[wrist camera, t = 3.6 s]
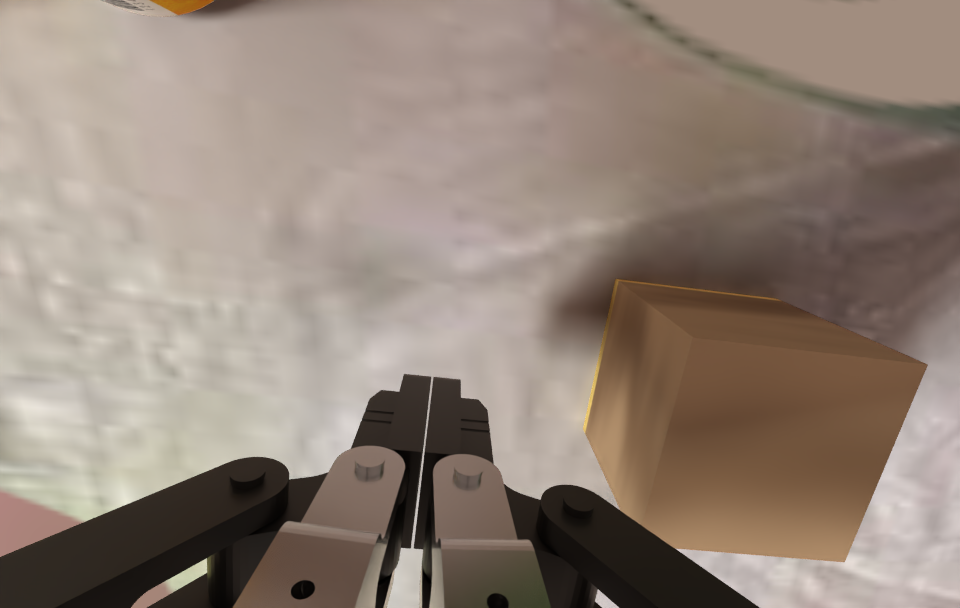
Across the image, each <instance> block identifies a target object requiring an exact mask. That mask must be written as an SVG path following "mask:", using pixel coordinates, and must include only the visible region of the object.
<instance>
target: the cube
mask: <svg viewBox="0 0 960 608" xmlns="http://www.w3.org/2000/svg"><path fill="white" fill-rule="evenodd" d="M926 368H927V364H925V363H923V362H921V361H918V360H916V359H914V358H911V357H909V356H907V355H904V354H902V353H900V352H898V351H895V350H893V349H891V348H888V347H886V346H884V345H882V344H879V343H877V342H875V341H872V340H870V339H868V338H865V337H863V336H861V335H859V334H856V333H854V332H852V331H849V330H847V329H845V328H843V327H840V326H838V325H836V324H833V323H831V322H829V321H826V320H824V319H822V318H820V317H817V316H815V315H813V314H810V313H808V312H806V311H803V310H801V309H799V308H797V307H794V306H792V305H790V304H787V303H785V302H783V301H781V300H778V299H775V298H767V297H759V296H751V295H742V294H734V293H726V292H718V291H710V290H702V289H694V288H686V287H678V286H669V285H661V284H653V283H645V282H637V281H629V280H621V279H616V280H615V284H614V289H613V294H612V298H611V303H610V307H609V312H608V317H607V321H606V326H605V330H604V335H603V340H602V344H601V349H600V354H599V358H598V363H597V367H596V372H595V377H594V381H593V386H592V390H591V395H590V400H589V404H588V409H587V413H586V418H585V423H584V427H583V430H584V432H585V434H586V436H587V438H588V440H589V443H590V445H591V447H592V449H593V451H594V454H595V456H596V458H597V460H598V462H599V464H600V467H601V469H602V471H603V473H604V475H605V478H606V480H607V482H608V484H609V486H610V488H611V491H612V493H613V495H614V497H615V499H616V501H617V504H618V506H619V508H620V510H621V511H622V512H623V513H624V514H626V515H627V516H629V517H630V518H632V519H633V520H635V521H636V522H637V523H639V524H640V525H642V526H643V527H645V528H646V529H647V530H649V531H650V532H652V533H653V534H655V535H656V536H657V537H659V538H660V539H662V540H663V541H665V542H666V543H668V544H669V545H670V546H672V547H673V548H677V549H689V550H701V551H714V552H726V553H738V554H751V555H763V556H775V557H788V558H800V559H812V560H824V561H837V562H845V560H846V557H847V555H848V553H849V550H850V548H851V546H852V543H853V541H854V538H855V536H856V534H857V531H858V529H859V527H860V524H861V522H862V520H863V517H864V515H865V512H866V510H867V508H868V505H869V503H870V501H871V498H872V496H873V493H874V491H875V489H876V486H877V484H878V482H879V479H880V477H881V474H882V472H883V470H884V467H885V465H886V463H887V460H888V458H889V455H890V453H891V451H892V448H893V446H894V444H895V441H896V439H897V437H898V434H899V432H900V429H901V427H902V425H903V422H904V420H905V418H906V415H907V413H908V410H909V408H910V406H911V403H912V401H913V399H914V396H915V394H916V391H917V389H918V387H919V384H920V382H921V380H922V377H923V375H924V372H925V370H926Z"/></svg>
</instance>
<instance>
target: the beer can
mask: <svg viewBox="0 0 960 608" xmlns="http://www.w3.org/2000/svg"><path fill="white" fill-rule="evenodd" d="M102 1H104V2H106V3H108V4H111V5H113V6H115V7H118V8H120V9H123V10H125V11H129V12H132V13H136V14H140V15H146V16H154V17H169V16H178V15H183V14H187V13H191V12H193V11H196V10H198V9H201V8H203V7H205V6H207V5H208V4H210V3H212V2H213V1H215V0H102Z"/></svg>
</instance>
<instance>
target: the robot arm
mask: <svg viewBox="0 0 960 608" xmlns="http://www.w3.org/2000/svg"><path fill="white" fill-rule="evenodd" d="M430 383H431V377H429V376H419V375H409V374H404V376H403V380H402V384H401V388H400V391H399V392H395V391H385V390H381V391H380V392H378V393H377V394H376V395H374V396H373V397H372V398H370V400H369V402H368V405H367V408H366V411H365V413H364V415H363V418H362V421H361V423H360V426H359V429H358V431H357V434H356V437H355V439H354V442H353V445H352V447H351V449H349V450H347V451H345V452H344V453H342V454H341V455H339V456H338V457H337V459H336V460H335V461H334V463H333V465H332V467H331V469H330V471H329V472H328V473H325V474H322V475H318V476H313V477H307V478H299V479H291V480H289V472H288V469H287V468H286V466H285V465H284V464H282V463H281V462H279V461H277V460H274V459H270V458H264V457H249V458H242V459H238V460H234V461H231V462H229V463H226V464H224V465H221V466H219V467H216V468H214V469H211V470H209V471H207V472H204V473H202V474H199V475H197V476H195V477H192V478H190V479H187V480H185V481H183V482H180V483H178V484H175V485H173V486H170V487H168V488H166V489H163V490H161V491H158V492H156V493H154V494H151V495H149V496H146V497H144V498H142V499H139V500H137V501H134V502H132V503H129V504H127V505H125V506H122V507H120V508H117V509H115V510H113V511H110V512H108V513H105V514H103V515H101V516H98V517H96V518H93V519H91V520H88V521H86V522H84V523H81V524H79V525H76V526H74V527H72V528H69V529H67V530H64V531H62V532H60V533H57V534H55V535H52V536H50V537H48V538H45V539H43V540H40V541H38V542H35V543H33V544H31V545H28V546H26V547H24V548H21V549H19V550H16V551H14V552H12V553H9V554H6V555H4V556H2V557H0V608H131V607H132V605H133V604H134V603H135V602H136V601H137V599H139V598H140V597H141V596H142V595H143V594H144V593H146V592H147V591H148V590H150V589H152V588H153V587H155V586H157V585H159V584H161V583H162V582H164V581H166V580H168V579H170V578H172V577H173V576H175V575H177V574H179V573H181V572H182V571H184V570H186V569H188V568H190V567H191V566H193V565H195V564H197V563H199V562H200V561H202V560H204V559H206V558H207V573H206V574H204V575H203V576H201V577H199V578H197V579H196V580H194V581H192V582H190V583H189V584H187V585H185V586H184V587H182V588H180V589H178V590H177V591H175V592H173V593H171V594H170V595H168V596H166V597H165V598H163V599H161V600H159V601H158V602H156V603H154V604H152V605H151V606H149V607H147V608H387V605H388V601H389V597H390V593H391V589H392V585H393V580H394V571H395V568H396V566H397V564H398V561H399V556H400V549H401V548H411V541H412V533H413V525H414V517H415V509H416V501H417V493H418V485H419V477H420V469H421V461H422V453H423V445H424V437H425V428H426V419H427V410H428V401H429V392H430ZM488 422H489V420H488V412H487V409H486V408H485V407H484V406H483V405H482V403H481V402H480V401H479V400H476V399H466V398H461V381H460V380H459V379H449V378H439V377H434V378H433V387H432V395H431V404H430V412H429V421H428V429H427V438H426V446H425V455H424V463H423V472H422V481H421V490H420V499H419V507H418V516H417V525H416V534H415V542H414V549H423V558H422V568H421V576H420V602H419V608H602V607H601V606H599V605H598V604H597V603H596V602H595V598H596V594H597V590H598V589H599V590H600V591H601V592H602V593H603V594H604V595H606V596H607V597H608V598H609V599H610V600H611V601H612V602H614V603H615V604H616V605H617V606H618V607H619V608H759V607H758V606H756V605H755V604H754V603H752V602H751V601H749V600H748V599H746V598H745V597H744V596H742V595H741V594H739V593H738V592H736V591H735V590H733V589H732V588H731V587H729V586H728V585H726V584H725V583H723V582H722V581H721V580H719V579H718V578H716V577H715V576H713V575H712V574H711V573H709V572H708V571H706V570H705V569H703V568H702V567H700V566H699V565H698V564H696V563H695V562H693V561H692V560H690V559H689V558H688V557H686V556H685V555H683V554H682V553H680V552H679V551H678V550H676V549H675V548H673V547H672V546H670V545H669V544H668V543H666V542H665V541H663V540H662V539H660V538H659V537H657V536H656V535H655V534H653V533H652V532H650V531H649V530H647V529H646V528H645V527H643V526H642V525H640V524H639V523H637V522H636V521H635V520H633V519H632V518H630V517H629V516H627V515H626V514H624V513H623V512H622V511H620V510H619V509H617V508H616V507H614V506H613V505H612V504H610V503H609V502H607V501H606V500H604V499H603V498H602V497H600V496H599V495H597V494H595V493H594V492H592V491H590V490H587V489H585V488H582V487H578V486H573V485H557V486H553V487H551V488H549V489H547V490H546V491H545V492H544V493H543V495H542V497H541V500H538V499H535V498H532V497H529V496H526V495H523V494H520V493H518V492H516V491H514V490H512V489H510V488H509V487H507V486H506V485H505V484H504V483H503V479H502V476H501V473H500V471H499V470H498V468H497V467H496V466H495V465H494V464H493V455H492V446H491V438H490V429H489V424H488Z"/></svg>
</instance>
